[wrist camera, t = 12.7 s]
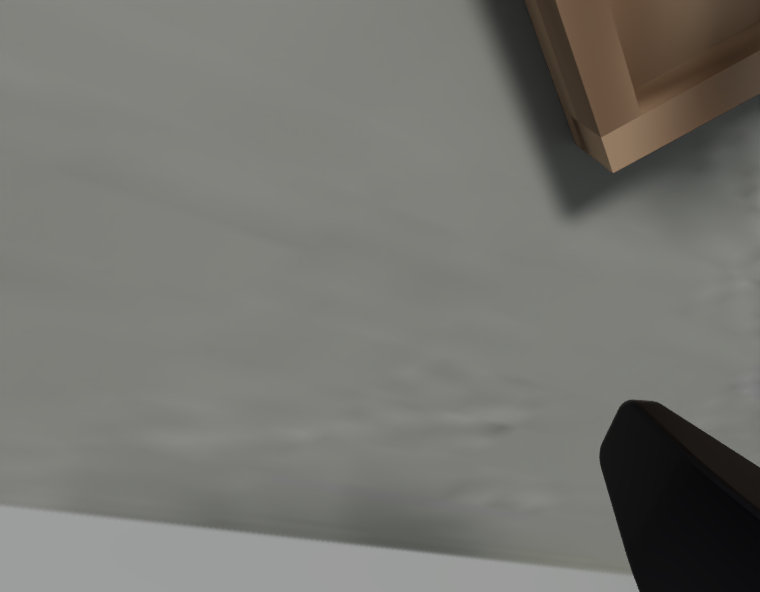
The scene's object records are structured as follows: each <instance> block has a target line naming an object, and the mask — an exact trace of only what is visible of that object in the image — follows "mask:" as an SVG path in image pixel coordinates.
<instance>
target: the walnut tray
mask: <svg viewBox="0 0 760 592" xmlns="http://www.w3.org/2000/svg"><path fill="white" fill-rule="evenodd" d="M524 1H525V4H526V7H527V10H528V13H529V15H530V18H531V21H532V24H533V26H534V29H535V32H536V35H537V38H538V40H539V43H540V46H541V49H542V52H543V54H544V57H545V60H546V63H547V65H548V68H549V71H550V74H551V77H552V79H553V82H554V85H555V88H556V91H557V93H558V96H559V99H560V102H561V104H562V107H563V110H564V113H565V116H566V118H567V121H568V124H569V127H570V130H571V132H572V135H573V138H574V141H575V143H576V145H577V146H579V147H580V148H581V149H583V150H584V151H585V152H586V153H588V154H589V155H590V156H591V157H593V158H594V159H595V160H597V161H598V162H599V163H600V164H602V165H603V166H604V167H606V168H607V169H608V170H609V171H611V172H612V173H615V172H616V171H618V170H620V169H622V168H624V167H626V166H627V165H629V164H631V163H633V162H635V161H637V160H638V159H640V158H642V157H644V156H646V155H648V154H650V153H651V152H653V151H655V150H657V149H659V148H661V147H662V146H664V145H666V144H668V143H670V142H672V141H673V140H675V139H677V138H679V137H681V136H683V135H685V134H686V133H688V132H690V131H692V130H694V129H696V128H697V127H699V126H701V125H703V124H705V123H707V122H708V121H710V120H712V119H714V118H716V117H718V116H719V115H721V114H723V113H725V112H727V111H729V110H731V109H732V108H734V107H736V106H738V105H740V104H742V103H743V102H745V101H747V100H749V99H751V98H753V97H754V96H756V95H758V94H760V0H524Z"/></svg>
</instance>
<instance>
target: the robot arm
mask: <svg viewBox="0 0 760 592" xmlns="http://www.w3.org/2000/svg"><path fill="white" fill-rule="evenodd" d="M599 458H600V465H601V469H602V473H603V476H604V479H605V483H606V486H607V490H608V493H609V496H610V500H611V503H612V507H613V510H614V514H615V517H616V520H617V524H618V527H619V531H620V534H621V538H622V541H623V544H624V548H625V551H626V555H627V558H628V561H629V564H630V567H631V570H632V573H633V576H634V578H635V581H636V583H637V586H638V589H639V592H760V467H758V466H757V465H755V464H754V463H752V462H751V461H749V460H747V459H746V458H744V457H743V456H741V455H740V454H738V453H736V452H735V451H733V450H732V449H730V448H729V447H727V446H726V445H724V444H722V443H721V442H719V441H718V440H716V439H715V438H713V437H712V436H710V435H708V434H707V433H705V432H704V431H702V430H701V429H699V428H697V427H696V426H694V425H693V424H691V423H690V422H688V421H687V420H685V419H683V418H682V417H680V416H679V415H677V414H676V413H674V412H673V411H671V410H669V409H668V408H666V407H665V406H663V405H662V404H660V403H658V402H655V401H645V400H628V401H625V402H624V403H623V404H622V405H621V406H620V407H619V409H618V411H617V413H616V415H615V417H614V419H613V421H612V424H611V426H610V428H609V430H608V432H607V434H606V436H605V438H604V440H603V442H602V445H601V448H600V456H599Z"/></svg>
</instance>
